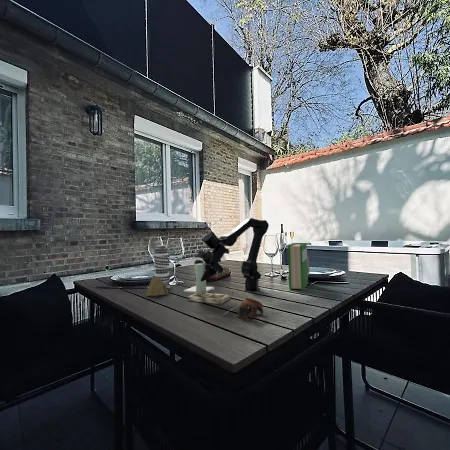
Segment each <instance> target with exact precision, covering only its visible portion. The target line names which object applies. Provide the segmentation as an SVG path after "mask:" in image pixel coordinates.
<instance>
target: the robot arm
mask: <svg viewBox="0 0 450 450" xmlns="http://www.w3.org/2000/svg"><path fill="white" fill-rule="evenodd" d="M269 226H270V225H269V223H268V221H267V220H266V219H262V220H261V219H256V218H253V217H249V218H246V219H244V220H243V221H242V222H241V223H240V224H239V225H237V226H236V227H235V228H233V229H232V230H231V231H229V232H225V233H224V234H222V235H221V236H220V237H218V236H217V235H216V234H215V232H213V231H210V233H207V234H206V235H205V236H203V238H202V242H203V243H204V244H205V245H206V247H208V248H209V250H206V251H203V250H198V252H197V256H196V258H198V259H195V261H194V262H193V264H194V265H195V264H205V270H206V271H205V273H204V275H203V276H202V278H201V281H202V282H203V281H204V280H206V281H207V280H208V279H209V278H211V277H214V276H215V275H217V274H219V275H222V274H223V273H224V267H223V266H222V265H221V264H220V263H221V262H222V260H221V259H222V258H223V257H224V255H225V254H227V255H229V254H230V249H229V248H227V247H232V246H234V245H235V243H236V242H237V240H238V238H239V237H240V236H242V235H243V233H245V232H247V230H248V229H250V228H252V231H253V237H252V241H251V244H250V249H249V252H248V256H247V259H246V260H243V261H242V262H241V267H240V269H241V270H240V271H241V274H242V275H243V276H242V277H243V278H244V279H245V281H244V284H245V285H244V286H245V289H244V290H245V291H250V292H257V291H259V290H260V289H261V288H260V287H259V286H260V285H259V280H261V277H262V274H261V273H260V271H258V263H257V260H258V258H259V257H258V256H259V252H260V248H261V244H262V240H263V237H264V236H265V235H266V233H268V230H269ZM210 250H212V251H210ZM194 280H195V281H196V276H195V277H194Z"/></svg>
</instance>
